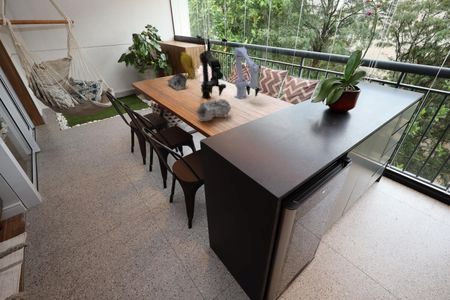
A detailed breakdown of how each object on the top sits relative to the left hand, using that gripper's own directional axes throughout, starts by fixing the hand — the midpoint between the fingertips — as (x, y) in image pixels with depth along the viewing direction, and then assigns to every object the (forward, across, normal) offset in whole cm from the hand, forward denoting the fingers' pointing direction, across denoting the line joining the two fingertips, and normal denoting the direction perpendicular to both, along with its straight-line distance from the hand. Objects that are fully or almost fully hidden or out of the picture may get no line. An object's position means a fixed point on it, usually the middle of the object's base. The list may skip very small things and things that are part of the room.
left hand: (215, 95), depth 175 cm
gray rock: (+10, -72, +22) cm, 76 cm away
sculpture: (+10, -88, +59) cm, 107 cm away
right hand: (+3, +22, +26) cm, 34 cm away
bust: (+10, +14, -21) cm, 27 cm away
